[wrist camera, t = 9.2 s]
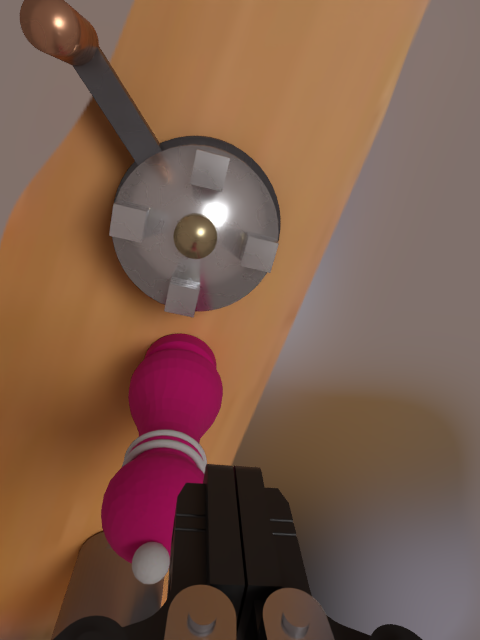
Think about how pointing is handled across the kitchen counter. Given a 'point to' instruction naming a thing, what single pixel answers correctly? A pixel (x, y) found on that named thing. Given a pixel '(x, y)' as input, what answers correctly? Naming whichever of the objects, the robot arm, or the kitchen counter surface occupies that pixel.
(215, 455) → the kitchen counter surface
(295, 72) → the kitchen counter surface
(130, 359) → the kitchen counter surface
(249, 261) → the crank handle
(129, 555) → the pepper mill
